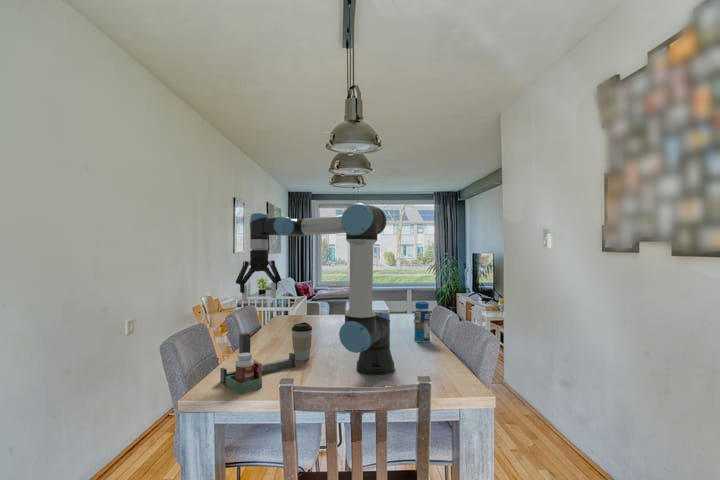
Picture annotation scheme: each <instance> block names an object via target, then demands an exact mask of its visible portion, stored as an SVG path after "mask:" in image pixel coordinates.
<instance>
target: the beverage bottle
mask: <svg viewBox="0 0 720 480" xmlns="http://www.w3.org/2000/svg"><path fill="white" fill-rule="evenodd" d="M414 304H415V309H416V310H415V312H414V315H413V317H414V319H413V323H414V324H413V325H414V339H413V340H414V342H416V343H420V342H422V344H423V343H424V344H426V343H429V342H430V341H431V319H430V317H431V314H430V312H429V309H430V308H429V305H430V304H429V302H428V301H416V302H415V303H414Z"/></svg>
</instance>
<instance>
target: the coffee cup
mask: <svg viewBox="0 0 720 480" xmlns="http://www.w3.org/2000/svg"><path fill="white" fill-rule="evenodd" d="M312 331H313V326H311V324H310V323H308V322H300V323H295V324H294V325H293V326H292V327H291V332H292V334H291V336H292V338H291V340H292V350H293V354H295V361H306V360H309V359H310V358H311V348H312V336H313V335H312V333H313V332H312Z"/></svg>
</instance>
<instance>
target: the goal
mask: <svg viewBox="0 0 720 480" xmlns="http://www.w3.org/2000/svg"><path fill="white" fill-rule="evenodd" d="M224 386H226V388H229V389H230V390H232V391H234V392H235V393H236V394H238V395H239V394H242V393H247V392H250V391H253V390H258V389H261V388H263V378H262V379H261V378H259V379H255V380H251V381H247V382H243V383H239V382H237V381H236V374H235V375H230V376H226V377H225V384H224Z"/></svg>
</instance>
